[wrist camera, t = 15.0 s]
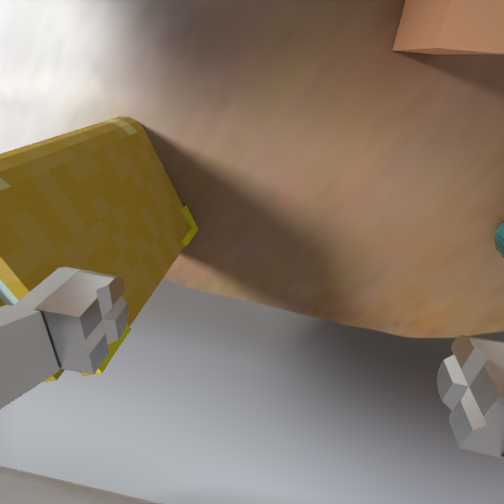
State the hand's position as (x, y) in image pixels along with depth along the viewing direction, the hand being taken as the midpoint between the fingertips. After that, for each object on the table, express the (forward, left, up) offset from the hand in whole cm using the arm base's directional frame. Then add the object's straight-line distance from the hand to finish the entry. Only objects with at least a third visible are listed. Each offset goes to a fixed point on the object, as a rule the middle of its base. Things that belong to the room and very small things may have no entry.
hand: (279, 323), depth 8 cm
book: (-1, -22, -34) cm, 41 cm away
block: (-3, +13, -34) cm, 36 cm away
